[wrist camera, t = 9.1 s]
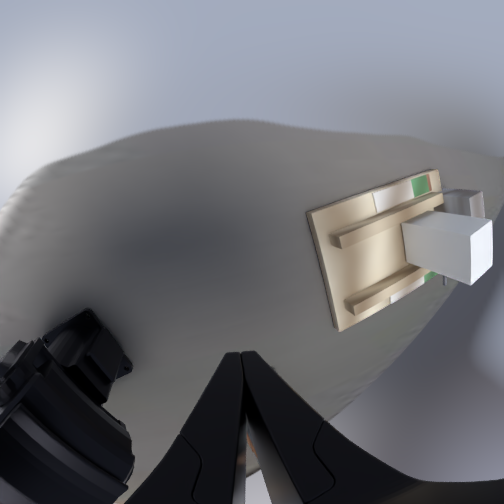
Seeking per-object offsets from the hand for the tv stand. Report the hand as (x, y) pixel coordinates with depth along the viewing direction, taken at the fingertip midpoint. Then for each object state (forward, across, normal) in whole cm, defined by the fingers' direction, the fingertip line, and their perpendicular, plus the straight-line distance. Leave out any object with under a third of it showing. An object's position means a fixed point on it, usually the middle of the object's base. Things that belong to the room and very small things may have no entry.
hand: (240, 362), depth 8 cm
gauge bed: (+15, -16, +1) cm, 22 cm away
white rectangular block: (+14, -19, +2) cm, 23 cm away
